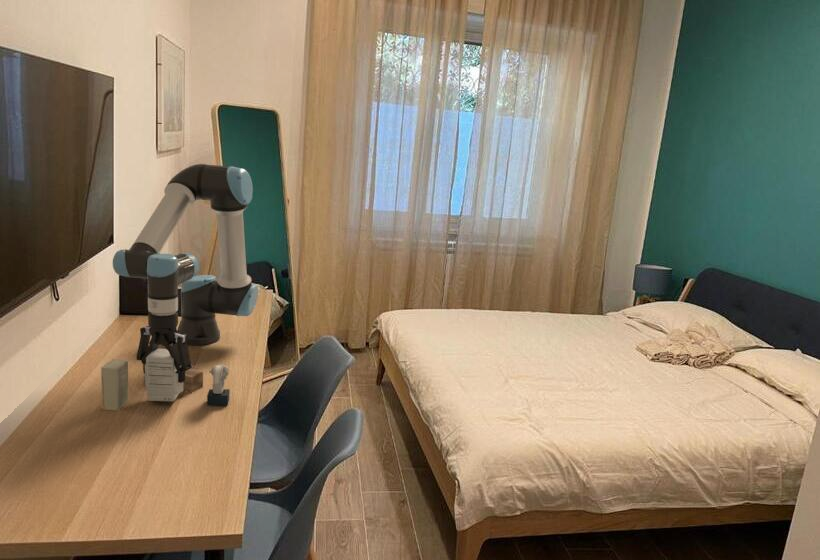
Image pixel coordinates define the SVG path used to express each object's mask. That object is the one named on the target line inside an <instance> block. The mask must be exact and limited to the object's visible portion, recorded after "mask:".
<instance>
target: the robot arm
mask: <svg viewBox="0 0 820 560" xmlns="http://www.w3.org/2000/svg"><path fill="white" fill-rule="evenodd" d="M251 177H252V176H250V173H249V172H248V171H247V170H246V169H245V168H241V167H235V166H233V165H232V166H230V165H229V166H228V165H216V164H215V165H214V164H204V163H198V164H193V165H190V166H188V167H186V168H184V169H182V170H180V171H178V173H176V174H175V175H174V176H173V177H172V178H170V180H169V181H168V182H167V184H166V186H165V187H164V190H163V191H164V196H163V197H162V199H161V200H160V202H159V203H158V205H157V206H156V207H155V209H154V211H153V212H152V214H151V216H150V217H149V219H148V220H147V222H146V223H145V225H144V227H143V228H142V229H141V231H140V232H139V235H138V236H137V238H136V239H135V240H134V242H133V244H132V245H131V247H130V248H128V249H126V248H125V249H119V250H117V251H116V252H115V253H114V256H113V258H112V268H113V270H114V272H115V273H116V274H117V275H118V276H121V277H128V278H134V279H135V278H136V279H146V280H147V310H148V313H147V319H148V320H147V324H148V325H146V326H144V327H141V328H140V329H139V331H140V332H139V333H140V337H139V342H138V343H139V344H138V347H137V348H138V349H137V352H136V360H138V361H141V364H142V369H143V370H142V371H143V374H144V383H145V385H144V386H145V387H146V388H147V381H146V357H147V356H148V355H149V354H150V353H151V352H152V351H154V350H157V349H159V346H160V345H161V346H164V347H165V348H164V349H167V350H168V351H169V353H170V356H171V358H174V365H175V368H176V370H177V371H175V372H174V394H176V395H177V394H178V395H179V394H181V393H182V392H184V391H183V382H184V381H185V371H187V370H189V369H191V368H192V361H191V358H190V351H189V347H188V346H189V345H190V346H203V345H210V344H214V343H216V342H218V341H220V339H221V331H220V329H219V326H218V322H217V319H216V314H219V315H228V316H236V317H249V316H250V315H251V314H253V312H254V310H255V308H256V305H257V302H258V296H259V288H258V286H257V285H256V284H253V283H252V277H251V276H250V275H249V274H247V272H248V271H247V261H246V260H247V259H246V258H247V257H246V256H247V255H246V244H245V243H246V241H245V238H246V237H245V224H244V211H245V210H246V209H248V205H249V204H250V203H251V201H252V200H253V193H254V187H253V182H252V181H253V180H252V178H251ZM200 200H202V201H208V202H210V209H212V211H214V212H215V214H216V227H217V237H218V239H217V240H218V241H217V242H218V251H219V264H220V276H219V278H217V277H216V276H215V275H213V274H200V275H199V273H198V272H200V271H199V270H200V263H199V261H198V258H196V256H195V255H194V254H191V253H188V252H186V253H185V252H184V253H178V254H171V253H161V252H162V250H163V248H164V247H165V246H166V244H167V242H168V240H169V238H170V237H171V235H172V233H174V231H175V229H176V227H177V225H178V224H179V222H180V220H181V218H182V217H183V215H184V213H185V212H186V210H187V209H188V208H189V207H192V206H193V205H194V204H195V202H196V201H200ZM197 274H198V275H197ZM179 285H181V289H180V299H181V300H180V303H181V304H180V305H181V307H180V308H181V309H180V311H181V312H180V313H181V314H180V315H181V316H180V318H181V319H180V321H179V294H178V293H179ZM180 366H181V367H180Z"/></svg>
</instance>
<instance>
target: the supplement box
mask: <svg viewBox="0 0 820 560" xmlns="http://www.w3.org/2000/svg"><path fill="white" fill-rule="evenodd" d="M180 367H181V366H180ZM175 371H177V370H176V368H175V365H174V358H171V356H170V353H169V351H168V350H167V349H166V348H157V350H154V351H152V352H151V353H150V354H149V355H148V356H147V357H146V381H147V387H146V400H147V401H152V402H154V401H155V402H174V401H175V400H176V399H177V397H178V396H179V394H177V395H176V394H174V372H175Z"/></svg>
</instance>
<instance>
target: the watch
mask: <svg viewBox="0 0 820 560" xmlns="http://www.w3.org/2000/svg"><path fill="white" fill-rule="evenodd" d="M229 372H230V369H229V367H228V366H227V365H224V364H215V365H213V366H212V367H211V369H210V370H209V373H210V374H211V375H212V377H213V379H212V381H213V382H212V388H209V389H208V392H207V394H206V395H207V396H206V407H222V406H223V407H228V406H229V403H228V402H229V401H230V391H231V390H230V388H228V389H227V388H226V389H225V388H224V387H225V380H227V377H228V375H229ZM227 405H228V406H227Z"/></svg>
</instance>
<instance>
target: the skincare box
mask: <svg viewBox="0 0 820 560" xmlns="http://www.w3.org/2000/svg"><path fill="white" fill-rule="evenodd" d="M100 368H101V369H100V372H101V373H100V374H101V375H100V376H101V406H102V407H101V409H102V410H108V411H120V410H121V409H122V408H123V407H124V406H125V405H126V404H127V403H129V400H130V399H129V360H123V359H113V358H112V359H111V360H109V361H108V362H107V363H106V364H104V365H102V366H101V367H100Z"/></svg>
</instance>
